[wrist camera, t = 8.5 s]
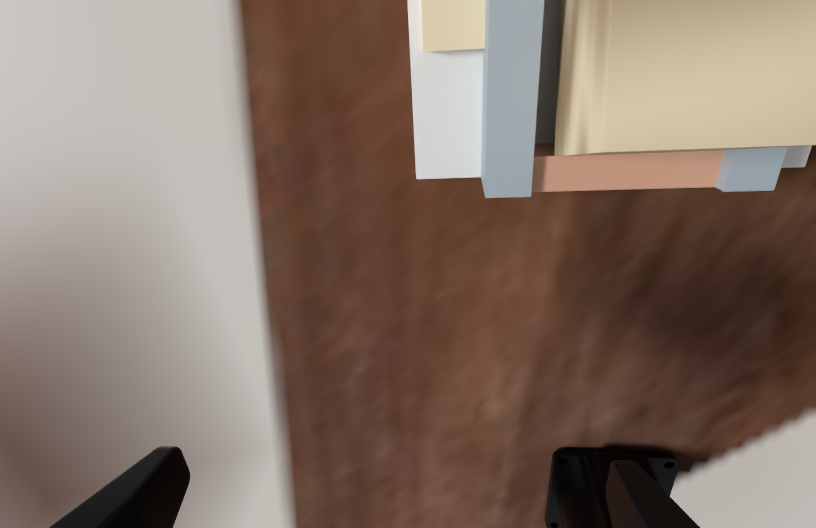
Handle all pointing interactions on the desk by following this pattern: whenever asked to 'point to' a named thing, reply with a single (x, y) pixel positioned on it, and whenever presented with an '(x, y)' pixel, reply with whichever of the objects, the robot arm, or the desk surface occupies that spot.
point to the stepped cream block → (685, 75)
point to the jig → (534, 111)
